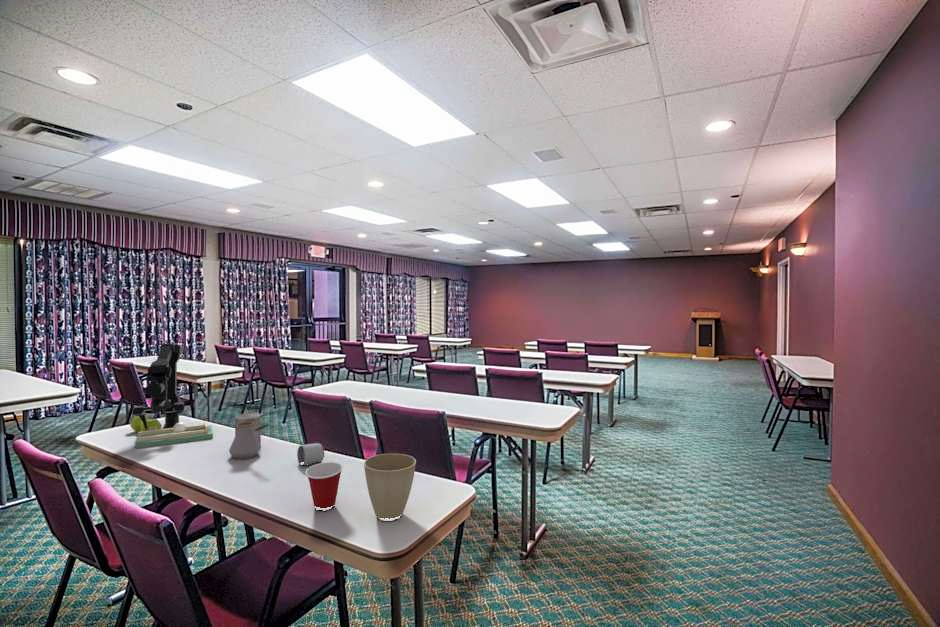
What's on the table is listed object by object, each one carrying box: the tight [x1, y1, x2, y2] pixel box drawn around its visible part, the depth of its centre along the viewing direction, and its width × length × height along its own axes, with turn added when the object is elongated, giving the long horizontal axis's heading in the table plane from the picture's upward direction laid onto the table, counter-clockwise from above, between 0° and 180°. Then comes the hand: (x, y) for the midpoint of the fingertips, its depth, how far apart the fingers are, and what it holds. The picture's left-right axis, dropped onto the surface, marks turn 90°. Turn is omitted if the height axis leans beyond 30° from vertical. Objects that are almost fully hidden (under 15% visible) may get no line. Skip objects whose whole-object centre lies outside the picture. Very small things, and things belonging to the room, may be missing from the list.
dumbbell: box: [129, 415, 162, 433], centre depth 210 cm, size 16×8×7 cm, turn 54°
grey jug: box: [234, 412, 262, 446], centre depth 191 cm, size 10×10×15 cm
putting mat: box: [135, 420, 214, 449], centre depth 202 cm, size 16×28×5 cm, turn 122°
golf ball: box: [172, 421, 187, 433], centre depth 203 cm, size 5×5×5 cm
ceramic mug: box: [296, 442, 325, 466], centre depth 174 cm, size 11×8×8 cm
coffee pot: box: [228, 422, 272, 460], centre depth 178 cm, size 21×12×15 cm, turn 58°
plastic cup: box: [304, 461, 344, 508], centre depth 136 cm, size 11×11×12 cm
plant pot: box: [363, 453, 417, 519], centre depth 131 cm, size 15×15×16 cm
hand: (159, 427), depth 199 cm, fingers open, 9 cm apart
